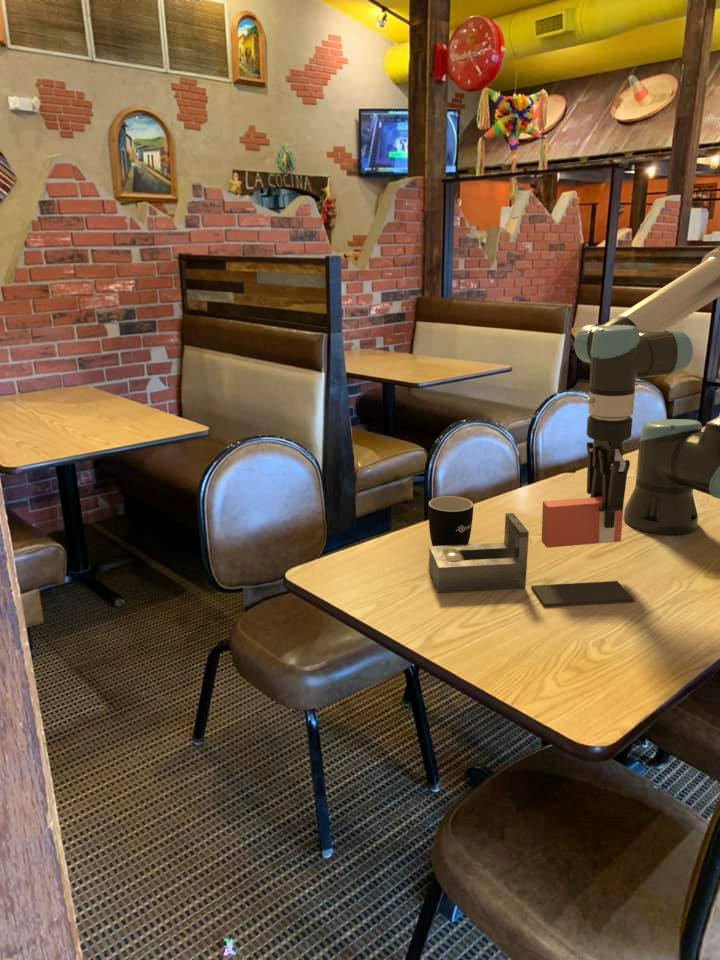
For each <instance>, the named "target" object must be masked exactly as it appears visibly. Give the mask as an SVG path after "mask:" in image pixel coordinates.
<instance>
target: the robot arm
mask: <svg viewBox="0 0 720 960" xmlns="http://www.w3.org/2000/svg"><path fill="white" fill-rule="evenodd" d="M719 297H720V245H718V246H717V247H716V248H714V249H712V250H711V251H709V252H708V253H706V254H705V255H704V256H703V257H702V259H701V262H700V263H699V264H698V265H697V266H695V267H693V268H692V269H690V270H688V271H687V272H685V273H684V274H682V275H680V276H679V277H677V278H676V279H674V280H673V281H671V282H669V283H667V284H666V285H665V286H663V287H662V288H660V289H658V290H657V291H655V292H654V293H652V294H651V295H649V296H647V297H646V298H644V299H643V300H640V301H639V302H638V303H636V304H634V305H633V306H631V307H630V308H628V309H626V310H625V311H623V312H622V313H620V314H619V315H617V316H616V317H614V318H612V319H610V320H609V321H607V322H605V323H603V324H600V323H593V324H591V323H590V324H586V325H585V326H582V327H581V329H580V330H579V331H578V332H577V334H576V336H575V338H574V344H573V345H574V346H573V347H574V351H575V355H576V356H577V358H578V359H579V360H581V361H582V362H586V363H588V364H589V365H590V366H589V369H590V370H589V388H588V389H589V391H588V398H587V399H586V404H588V407H587V408H588V410H587V412H588V414H589V415H588V417H587V418H586V419H587V420H586V421H587V422H586V435H587V437H588V438H589V439H592V440H593V442H591V441H588V442H586V451H587V475H586V477H587V478H586V493H587V494H588V495H590V496H589V498H591V497H602V507H600V508H598V509H599V511H600V515H599V530H598V543H597V544H608V543H610V544H611V543H615V542H614V530H615V516H616V511H622V510H623V521H624V522H625V523H626V524H627V525H628V526H630V527H633V528H635V529H636V530H639V531H643V532H645V533H650V534H651V533H652V534H656V535H664V536H665V535H668V536H671V535H672V536H674V535H677V536H678V535H679V536H680V535H686V534H689V533H692V532H694V531H696V529H697V528H698V522H699V516H698V515H699V514H698V511H697V506H696V502H695V498H694V494H693V493H694V490H695V491H698V492H700V493H702V494H707V495H709V496H711V497H713V498H715V499H716V498H717V499H719V500H720V413H719V414H718V416H717V417H716V418H714V419H711V420H709V421H708V422H706V424H705V427H704V430H703V425H702V422H700V421H699V420H695V419H687V418H686V419H683V418H682V419H681V418H680V419H678V418H677V419H675V418H673V419H669V418H667V419H656V420H652V421H648V422H646V423H645V424H644V425H643V426H642V427H641V434H640V439H639V443H638V454H637V469H636V478H635V486H634V489H633V491H632V492H631V494H630V497H629V499H628V502H627V503H626V505H625V507H624V504H623V503H624V502H625V494H626V486H627V485H626V484H627V477H628V472H629V469H630V466H631V463H630V462H631V461H630V460H629V459H626V460H625V459H624V458H623V455H624V451H623V443H624V442H625V441H626V440H629V439H630V438H631V437H632V432H633V431H632V430H633V429H632V428H633V418H632V417H631V416H632V415H633V414H634V408H635V407H634V406H635V395H636V392H635V391H636V382H637V381H636V380H638V379H643V378H645V379H646V378H652V377H658V376H659V377H660V376H669V375H671V374H675V373H680V372H681V371H683V370H685V369H686V368H687V367H688V366H689V365H690V363H691V362H692V359H693V355H694V353H693V352H694V348H693V347H694V346H693V343H692V340H691V339H690V337H689V336H688V335H687V334H686V333H685V332H683V331H680V330H669V329H670V328H672V327H674V326H675V325H677V324H678V323H679V322H681V321H683V320H684V319H686V318H688V317H690V315H692V314H694V313H695V312H697V311H698V310H700V309H701V308H703V307H705V306H707V305H708V304H709V303H711V302H712V301H714V300H716V299H717V298H719ZM702 430H703V431H702Z"/></svg>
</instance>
